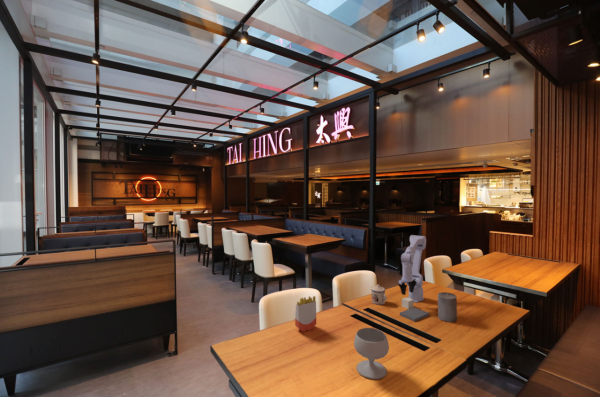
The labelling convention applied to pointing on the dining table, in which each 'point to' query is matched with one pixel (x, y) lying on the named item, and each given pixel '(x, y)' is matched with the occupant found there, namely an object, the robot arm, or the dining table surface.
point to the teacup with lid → (378, 295)
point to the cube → (407, 303)
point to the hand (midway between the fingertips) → (407, 293)
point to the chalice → (371, 352)
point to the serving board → (414, 314)
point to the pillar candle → (447, 307)
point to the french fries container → (305, 314)
